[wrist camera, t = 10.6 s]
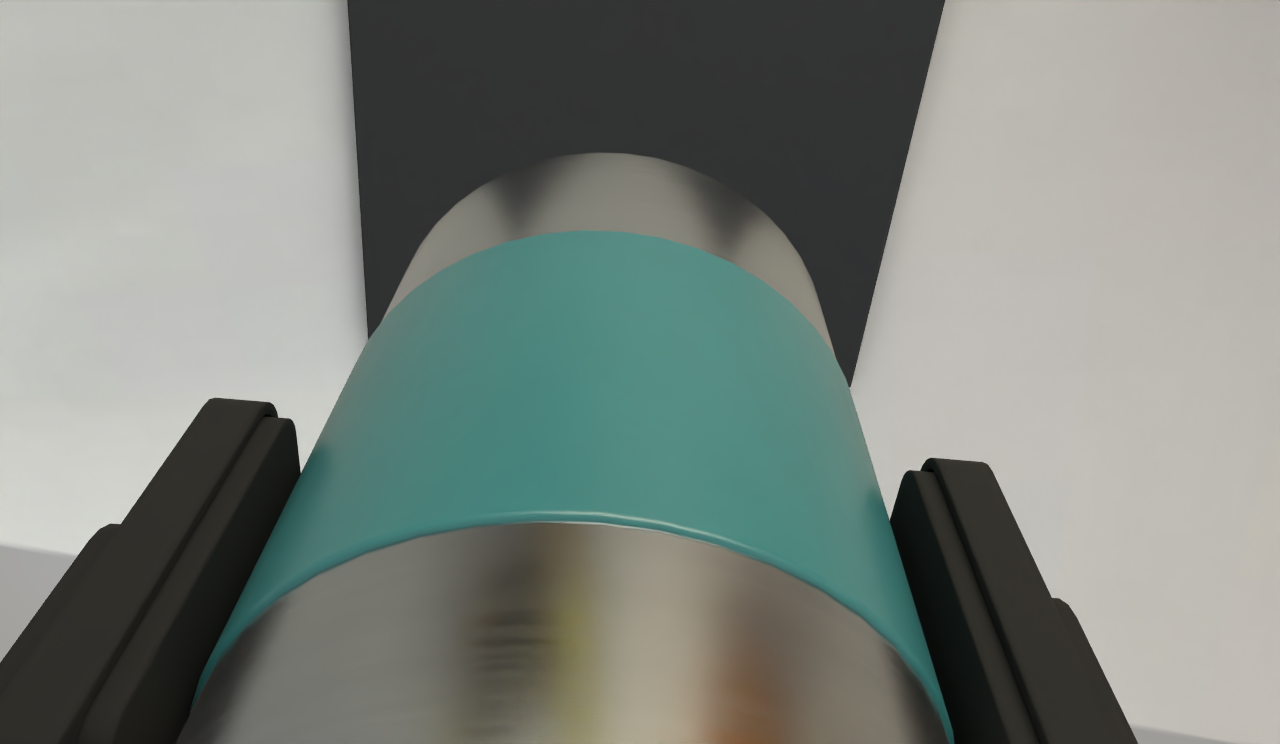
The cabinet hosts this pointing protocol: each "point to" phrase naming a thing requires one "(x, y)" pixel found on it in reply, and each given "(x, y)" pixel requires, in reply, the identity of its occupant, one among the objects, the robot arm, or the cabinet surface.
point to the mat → (646, 115)
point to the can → (585, 498)
